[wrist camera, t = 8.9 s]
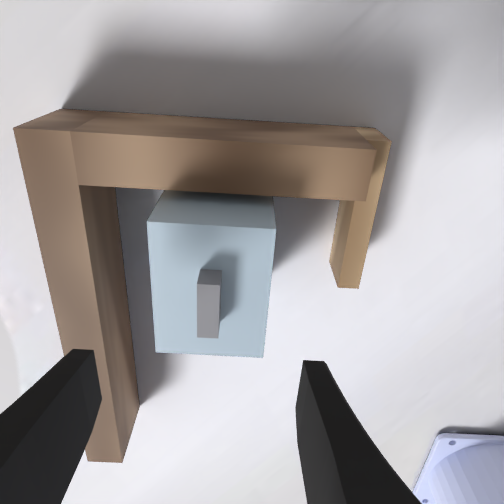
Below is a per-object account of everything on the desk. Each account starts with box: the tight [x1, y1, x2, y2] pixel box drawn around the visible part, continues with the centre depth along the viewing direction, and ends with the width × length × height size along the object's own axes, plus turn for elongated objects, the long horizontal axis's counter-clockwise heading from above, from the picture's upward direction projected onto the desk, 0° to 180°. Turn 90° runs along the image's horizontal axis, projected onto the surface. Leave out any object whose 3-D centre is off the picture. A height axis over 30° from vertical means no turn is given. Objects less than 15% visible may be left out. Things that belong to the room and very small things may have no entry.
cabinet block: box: [147, 190, 276, 358], centre depth 18 cm, size 4×6×7 cm
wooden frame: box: [13, 109, 392, 463], centre depth 21 cm, size 14×19×4 cm
